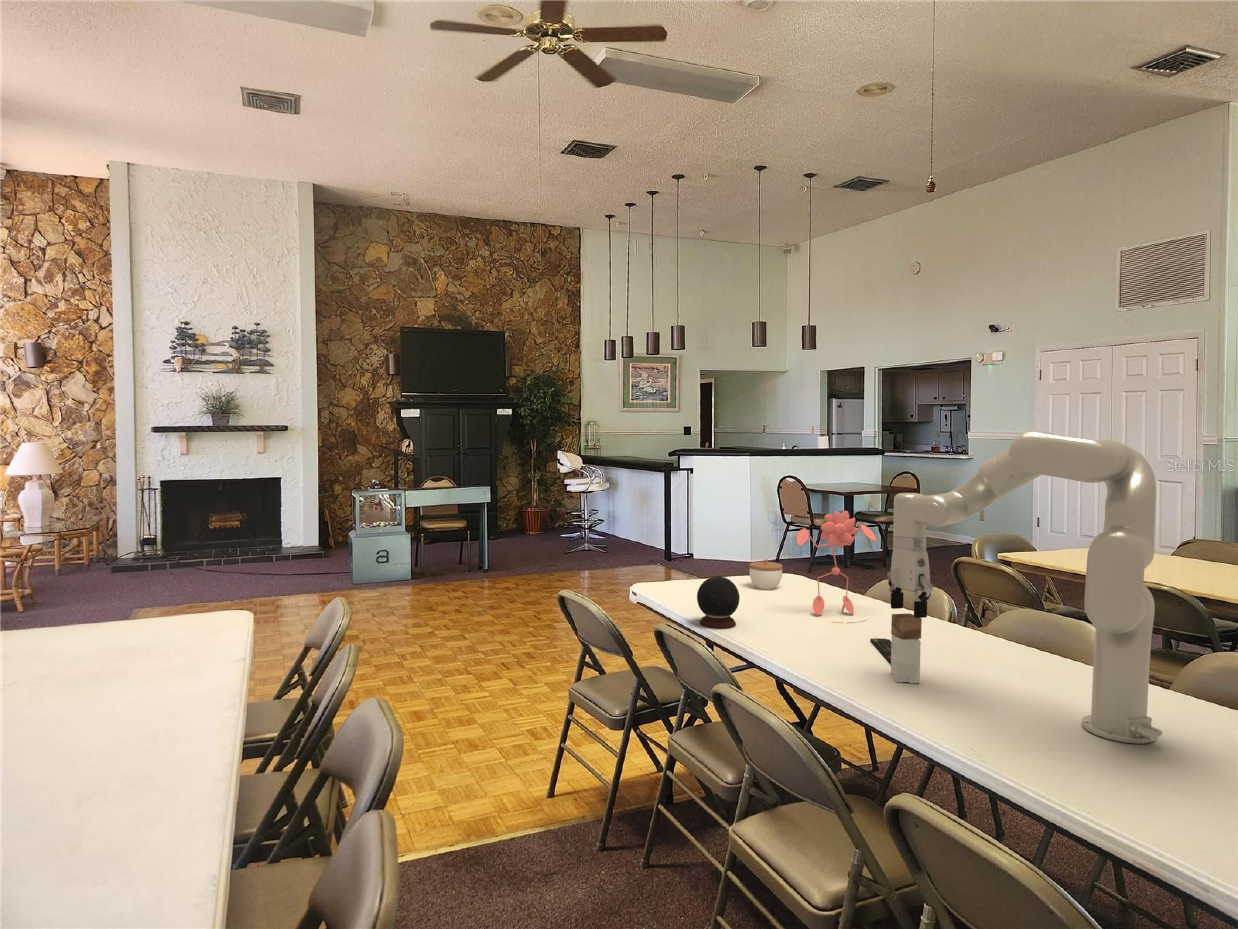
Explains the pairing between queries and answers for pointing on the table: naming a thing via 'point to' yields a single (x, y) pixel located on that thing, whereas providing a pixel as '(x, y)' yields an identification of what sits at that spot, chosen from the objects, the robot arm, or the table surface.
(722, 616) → the black ball on stand
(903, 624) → the walnut cube
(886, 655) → the remote control
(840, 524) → the pink flower doll
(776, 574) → the lidded bowl
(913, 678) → the small box
